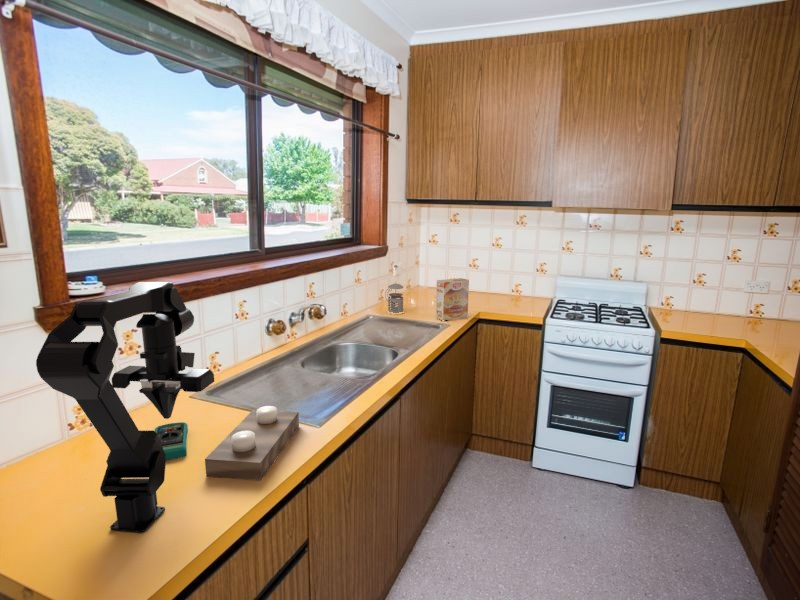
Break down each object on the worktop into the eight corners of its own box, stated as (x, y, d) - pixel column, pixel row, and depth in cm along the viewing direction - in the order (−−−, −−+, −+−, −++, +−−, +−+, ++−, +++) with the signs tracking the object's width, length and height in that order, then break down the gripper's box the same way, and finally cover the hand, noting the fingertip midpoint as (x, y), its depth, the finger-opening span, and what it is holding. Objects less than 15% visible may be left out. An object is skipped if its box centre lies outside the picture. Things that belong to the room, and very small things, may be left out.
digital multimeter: (188, 430, 119) (187, 419, 119) (187, 458, 106) (185, 446, 105) (155, 435, 117) (154, 424, 116) (150, 465, 103) (149, 453, 103)
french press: (396, 315, 239) (396, 266, 234) (380, 312, 247) (379, 264, 242) (408, 312, 246) (409, 265, 241) (392, 309, 254) (392, 263, 249)
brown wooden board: (261, 480, 97) (260, 462, 96) (206, 476, 98) (204, 458, 98) (299, 426, 120) (298, 412, 120) (254, 423, 122) (253, 409, 121)
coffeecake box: (443, 321, 227) (444, 282, 223) (435, 318, 233) (435, 279, 229) (468, 318, 234) (469, 279, 230) (459, 315, 240) (460, 277, 236)
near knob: (251, 470, 100) (249, 442, 99) (229, 468, 101) (227, 440, 100) (260, 458, 105) (258, 431, 104) (239, 457, 106) (237, 430, 104)
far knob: (273, 440, 113) (272, 414, 112) (254, 439, 114) (253, 413, 112) (281, 430, 118) (279, 406, 116) (262, 429, 118) (261, 405, 117)
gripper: (224, 335, 100) (229, 403, 103) (142, 332, 102) (149, 399, 105) (196, 351, 89) (203, 427, 92) (105, 347, 91) (114, 422, 94)
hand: (167, 417), depth 96 cm, fingers closed
